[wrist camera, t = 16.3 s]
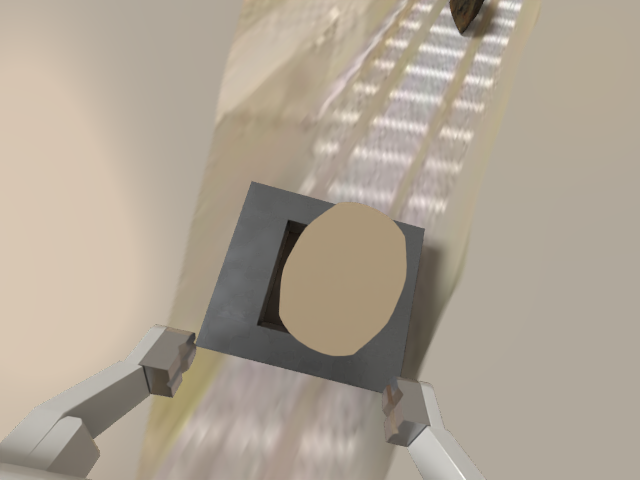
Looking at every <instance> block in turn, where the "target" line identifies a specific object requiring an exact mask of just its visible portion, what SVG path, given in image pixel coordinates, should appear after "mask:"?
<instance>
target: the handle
mask: <svg viewBox="0 0 640 480" xmlns="http://www.w3.org/2000/svg"><path fill="white" fill-rule="evenodd" d="M406 269H407V264H406V244H405V236H404V234H403V233H402V231H401V229H400V228H399V227H398V226H397V224H396V223H395V222H394V221H393V220H391V219H390V218H389V217H388V216H387V215H385V214H383V213H382V212H380V211H378V210H377V209H374V208H372V207H370V206H367V205H364V204H360V203H356V202H342V203H338V204H336V205H335V206H333V207H332V208H330V209H329V210H327V211H326V212H324V213H323V214H322V215H320V216H319V217H318V218H316V219H315V220H314V221H312V222H311V223H310V224H309V225H308V226H307V227H306V228H305V230H304V231H303V233H302V234H301V235H300V237H299V239H298V240H297V242H296V244H295V246H294V248H293V249H292V251H291V253H290V255H289V257H288V259H287V261H286V263H285V266H284V268H283V273H282V278H281V288H280V304H279V316H280V318H281V320H282V322H283V324H284V325H285V327H286V328H287V330H288V331H289V332H290V333H291V334H292V335H293V336H294V337H295V338H296V339H297V340H298V341H300V342H301V343H303V344H304V345H306V346H307V347H309V348H311V349H313V350H316V351H318V352H320V353H323V354H327V355H332V356H347V355H353V354H354V353H356V352H357V351H358V350H359V349H360V348H362V347H363V346H364V345H365V344H366V343H367V342H369V341H370V340H371V339H372V338H373V337H374V336H375V335H376V334H378V333H379V332H380V331H381V329H382V328H383V327H384V326H385V325H386V324H387V322H388V321H389V319H390V317H391V315H392V313H393V311H394V309H395V306H396V304H397V302H398V299H399V297H400V295H401V292H402V290H403V286H404V283H405V280H406Z"/></svg>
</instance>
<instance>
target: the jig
mask: <svg viewBox="0 0 640 480" xmlns="http://www.w3.org/2000/svg"><path fill="white" fill-rule="evenodd" d="M335 205H336V204H333V203H329V202H325V201H322V200H318V199H315V198H311V197H307V196H304V195H300V194H296V193H293V192H289V191H285V190H282V189H278V188H275V187H271V186H267V185H264V184H260V183H256V182H253V181H252V182H251V185H250V188H249V191H248V194H247V197H246V199H245V202H244V205H243V208H242V211H241V214H240V217H239V220H238V223H237V225H236V228H235V231H234V234H233V237H232V240H231V243H230V246H229V249H228V252H227V254H226V257H225V260H224V263H223V266H222V269H221V272H220V275H219V278H218V281H217V283H216V286H215V289H214V292H213V295H212V298H211V301H210V304H209V307H208V309H207V312H206V315H205V318H204V321H203V324H202V327H201V330H200V333H199V336H198V338H197V341H196V344H195V345H196V346H198V347H202V348H206V349H210V350H214V351H218V352H221V353H225V354H229V355H233V356H237V357H241V358H245V359H249V360H253V361H257V362H261V363H265V364H269V365H273V366H277V367H281V368H285V369H289V370H293V371H297V372H301V373H305V374H309V375H313V376H316V377H320V378H324V379H328V380H332V381H336V382H340V383H344V384H348V385H352V386H356V387H360V388H364V389H368V390H372V391H376V392H380V393H383V391H384V389H385V387H386V386H387V385H390V379H391V378H392V376H398V377H400V376H401V370H402V364H403V358H404V352H405V345H406V339H407V333H408V327H409V321H410V315H411V309H412V303H413V297H414V291H415V285H416V279H417V273H418V267H419V261H420V255H421V249H422V243H423V237H424V231H425V229H424V228H420V227H416V226H413V225H409V224H405V223H402V222H398V221H394V220H393V221H394V222H395V223H396V224H397V226H398V227H399V228H400V229H401V231H402V233H403V234H404V236H405V244H406V264H407V269H406V280H405V283H404V286H403V290H402V292H401V295H400V297H399V299H398V302H397V304H396V306H395V309H394V311H393V313H392V315H391V317H390V319H389V321H388V322H387V324H386V325H385V326H384V327H383V328H382V329H381V331H380V332H379V333H378V334H376V335H375V336H374V337H373V338H372V339H371V340H370V341H369V342H367V343H366V344H365V345H364V346H363V347H362V348H360V349H359V350H358V351H357V352H356V353H354V354H353V355H347V356H332V355H327V354H323V353H320V352H318V351H316V350H313V349H311V348H309V347H307V346H306V345H304V344H303V343H301V342H300V341H298V340H297V339H296V338H295V337H294V336H293V335H292V334H291V333H290V332H289V331H288V330H287V328H286V327H284V326H281V325H277V324H273V323H269V322H265V321H263V318H264V315H265V311H266V308H267V305H268V301H269V298H270V294H271V291H272V288H273V284H274V281H275V277H276V274H277V271H278V267H279V264H280V260H281V257H282V254H283V250H284V247H285V243H286V240H287V237H288V233H289V231H291V232H295V233H299V234H302V233H303V231H304V230H305V228H306V227H307V226H308V225H309V224H310V223H311V222H312V221H314V220H315V219H316V218H318V217H319V216H320V215H322V214H323V213H324V212H326V211H327V210H329V209H330V208H332V207H333V206H335Z"/></svg>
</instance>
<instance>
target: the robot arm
mask: <svg viewBox="0 0 640 480" xmlns="http://www.w3.org/2000/svg"><path fill="white" fill-rule="evenodd" d="M195 339H196V337H195V333H193V332H189V331H184V330H180V329H175V328H171V327H167V326H162V325H157V324H156V325H154V326H153V327H152V328H151V329H150V330H149V331H148V332H147V334H146V335H145V336H144V337H143V339H142V340H141V341H140V342H139V343H138V345H137V346H136V347H135V348H134V349H133V351H132V352H131V353H130V355H129V356H128V357H127V358H126V359H125V361H124V362H122V361H119V362H117V363H115V364H114V365H111V366H110V367H108V368H106V369H104V370H102V371H101V372H99V373H97V374H95V375H93V376H92V377H90V378H88V379H86V380H84V381H82V382H80V383H79V384H77V385H75V386H74V387H71V388H69V389H68V390H66V391H64V392H62V393H60V394H59V395H57V396H55V397H53V398H52V399H49V400H48V401H46V402H44V403H42V404H40V405H39V406H37V407H35V408H34V409H33V410H32V411H31V412H30V413H29V414H28V415H27V416H26V417H25V418H24V419H23V420H22V421H21V422H20V423H19V424H18V425H17V427H15V429H14V430H13V431H12V432H11V433H10V434H9V435H8V436H7V437H6V438H5V439H4V440H3V441H2V442H1V443H0V480H90V479H85V478H86V476H87V475H88V473H89V472H90V470H91V469H92V467H93V466H94V464H95V463H96V461H97V460H98V458H99V457H100V451H99V449H98V447H97V445H96V444H95V442H94V440H93V439H94V438H95V437H97V436H98V435H99V434H101V433H102V432H103V431H104V430H106V429H107V428H108V427H110V426H111V425H112V424H113V423H114V422H116V421H117V420H118V419H120V418H121V417H122V416H124V415H125V414H126V413H127V412H129V411H130V410H131V409H133V408H134V407H135V406H137V405H138V404H139V403H140V402H142V401H143V400H144V399H145V398H147V397H148V396H149V395H150V394H154V395H160V396H166V397H171V398H173V396H174V395H175V393H176V391H177V389H178V387H179V386H180V384H181V382H182V373H184V372H185V371H187V370H188V369H189V368H190V366H191V364H192V362H193V359H194V357H195V354H196V345H195V344H194V340H195ZM382 409H383V412H384V413H385V415H386V416H387V418H386V420H385V422H384V427H385V436H386V442H388V443H392V444H396V445H400V446H405V447H408V448H407V449H408V451H409V453H410V455H411V457H412V458H413V461H414V462H415V464H416V466H417V468H418V470H419V472H420V474H421V475H422V477H423V479H424V480H486V479H485V478H484V476H483V475H482V473H481V472H480V471H479V469H478V468H477V467H476V466H475V464H474V463H473V462H472V460H471V459H470V458H469V456H468V455H467V454H466V452H465V451H464V450H463V448H462V447H461V446H460V444H459V443H458V442H457V441H456V439H455V438H454V437H453V435H452V434H451V433H450V431H448V430H445V427H444V424H443V421H442V417H441V414H440V410H439V407H438V403H437V400H436V396H435V393H434V390H433V387H432V385H431V384H430V383H427V382H422V381H417V380H413V379H408V378H403V377H398V376H392V378H391V379H390V385H387V386H386V387H385V389H384V391H383V395H382Z"/></svg>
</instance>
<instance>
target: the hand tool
mask: <svg viewBox="0 0 640 480" xmlns="http://www.w3.org/2000/svg"><path fill="white" fill-rule="evenodd" d="M483 2H484V0H450V2H449V3H450V9H451V13H452V16H453V19H454V22H455V24H456V26H457V28H458V30H459V32H460V33H461V34H462V33H463V32H464V31H465V30H466V29H467V27H468V26H469V24H470V23H471V21H473V19H474V18H475V17H476V15H477V14H478V12H479V10H480V8H481V6H482V4H483Z"/></svg>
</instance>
